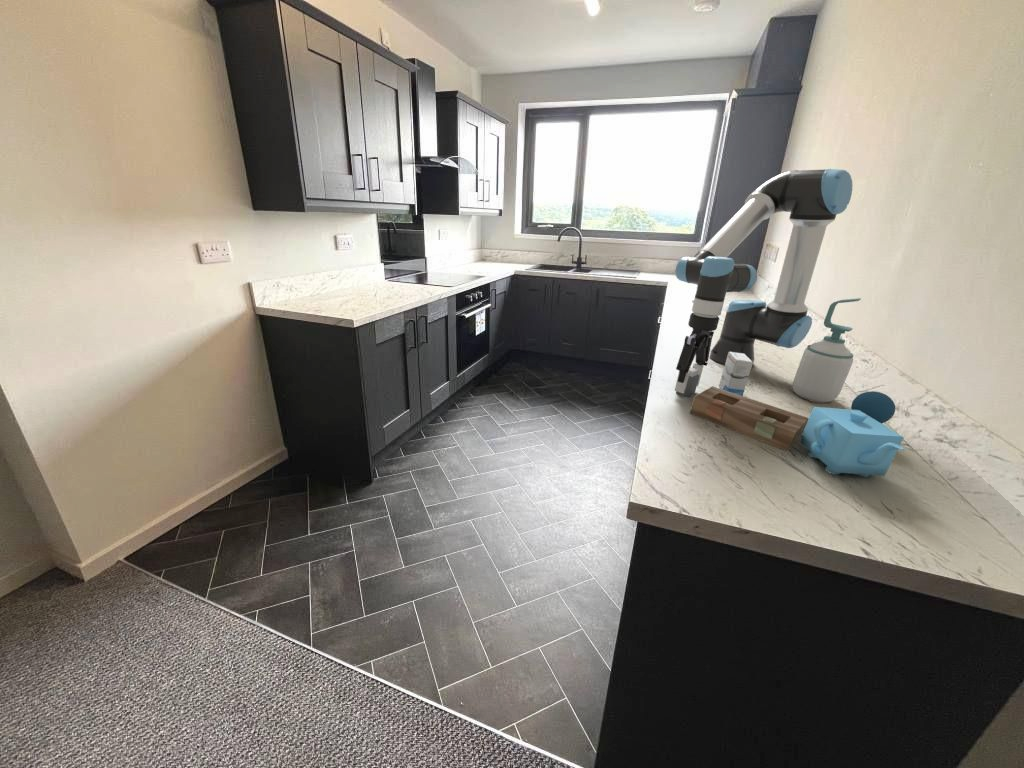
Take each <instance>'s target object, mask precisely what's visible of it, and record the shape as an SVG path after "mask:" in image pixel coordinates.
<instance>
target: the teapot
mask: <svg viewBox="0 0 1024 768" xmlns="http://www.w3.org/2000/svg"><path fill="white" fill-rule="evenodd" d="M808 418H809V419H808V422H807V424H806V427H805V429H804V432H803V434H802V436H801V437H800V439H799V444H801V445H802V446H804V447H805V449H807V450H808V452H807V456H809V457H811V458H814V459H819V460H820V461H821V462H822V463H823V464H824V465H826V467H825V468H824V469H826V470H827V471H829V472H831V473H834V474H833V475H835V474H839V475H840V474H854V475H857V476H860V477H863V476H864V477H865V478H868V477H869V476H878V477H879V476H880V477H881V476H883V477H885V476H886V474H887V471H888V469H889V468H890V466H891V464H892V462H893V460H894V458H895V455H896V454H897V453H898V450H905V448H904V447H903V446H901V444H902V442H903V440H904V436H903V435H901V434H899V433H898V432H896V431H894V430H893V429H891V428H890V427H888V426H886V425H885V423H882V424H881V423H880V422H878V421H876V420H875V419H873V418H871V417H870V416H868V415H866V414H865V413H863V412H861V411H860V410H851V408H849V409H846V408H835V407H820V406H813V408H812V409H811V412H810V415H809V417H808ZM826 470H825V471H826ZM827 471H826V472H827ZM829 472H828V473H829ZM831 473H830V474H831Z"/></svg>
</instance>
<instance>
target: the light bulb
mask: <svg viewBox="0 0 1024 768" xmlns="http://www.w3.org/2000/svg"><path fill="white" fill-rule="evenodd" d="M850 410H860V411H861V412H863V413H865V414H866V415H868V416H870V417H871V418H873V419H875V420H876V421H878V422H880V423H881V424H885V423H887V422H888V421H890V420H891V419H892V418H893V417H894V415H895V412H896V405H895V402H894V400H893V399H892V398H891V397H890V396H889V395H888V394H885V393H883V392H880V391H873V390H871V391H865V392H862V393H860V394H858V395H857V396H855V398H854V399H853V400H852V403H851V407H850Z"/></svg>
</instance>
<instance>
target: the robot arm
mask: <svg viewBox="0 0 1024 768" xmlns="http://www.w3.org/2000/svg"><path fill="white" fill-rule="evenodd" d="M852 193H853V179H852V176H851V174H850V172H848V171H847V170H845V169H836V168H833V169H832V168H828V169H808V170H807V169H804V170H803V169H802V170H801V169H800V170H796V169H795V170H789V171H784V172H782V173H779V174H778V175H775V176H773V177H771V178H769V179H768V180H767V181H765V182H764V183H762V184H761V185H760V186H758V187H756V188H755V189H754V190H753V191H752V192H751V193H750V194H749V195H748V196H747V197H746V198H745V199H744V205H742V207H741V208H740V209H739V210H738V211H736V213H735V214H734V215H733V216H732V217H731V218H730V219H729V220H727V222H726V223H725V224H724V225H723V226H722V227H721V228H720V229H719V230H718V231H717V232H716V233H715V234H714V235H713V236H712V237H711V238H710V239H709V240H708V241H707V242H706V244H705V245H703V246H702V247H701V249H699V251H697V253H696V254H694V256H684V257H682V258H681V257H680V259H679V260H678V261H677V263H676V266H675V271H674V272H675V273H674V274H675V276H676V279H677V280H678V281H681V282H684V283H686V284H687V283H688V284H692V285H697V288H696V293H695V295H694V299H692V301H691V302H692V303H693V304H692V308H691V311H692V312H691V313H690V314H689V315H690V316H689V320H688V327H690V328H692V331H691V333H690V335H689V336H688V335H686V336H685V338H684V342H683V346H682V349H681V353H680V356H679V358H678V362H677V365H676V367H675V370H676V371H678V374H677V379H676V383H675V387H674V392H676V391H677V392H680V393H685V389H686V385H687V381H688V377H689V373H690V372H688V371H689V369H690V367H691V366H692V363H693V361H694V359H695V363H693V366H692V368H694V369H697V370H698V375H700V376H699V379H698V383H697V387H698V386H699V384H700V380H701V377H702V373H703V369H704V366H705V367H707V365H708V361H709V358H710V359H711V360H712V361H714V362H717V363H719V364H722V365H725V363H726V359H727V356H728V353H729V352H736V353H743V354H745V355H746V356H747V357H748V358H749V359H750V360H751V361H752V362H753V364H752V366H753V365H754V363H755V347H754V344H755V341H756V340H757V341H760V342H763V343H768V344H771V345H774V346H775V347H780V348H785V349H793V348H795V347H797V346H798V345H800V343H802V341H804V339H805V338H806V336H807V335H808V334H809V331H810V330H811V328H812V324H813V319H812V317H811V316H809V315H807V314H808V311H809V308H808V306H806V305H807V304H805V301H806V299H807V295H808V292H809V288H810V284H811V281H812V278H813V274H814V271H815V267H816V265H817V261H818V256H819V255H820V254H819V253H820V252H821V247H822V243H823V241H824V237H825V234H826V230H827V226H828V225H830V224H831V223H832V222H835V220H836V217H837V215H840V214H842V213H843V212H845V211H846V209H847V208H848V205H849V204H850V202H851V198H852ZM780 212H781V213H782V212H786V213H787V212H788V213H790V215H789V221H790V222H791V223H792V229H791V232H790V236H789V241H788V245H787V249H786V252H785V257H784V260H783V264H782V267H781V272H780V275H779V280H778V283H777V287H776V291H775V295H774V299H773V300H772V301H770V302H769V303H767V302H766V301H763V300H754V299H753V300H752V299H751V300H750V299H737V300H736V299H735V300H732V301H730V303H728V304H729V305H728V307H727V310H726V312H725V316H724V321H723V325H722V329H721V332H720V335H719V339H717V341H716V342H715V344H714V346H713V347H712V348H711V346H712V342H713V341H712V339H713V336H714V334H715V331H716V330H717V328H718V325H719V321H720V317H719V316H721V314H722V311H723V306H724V303H725V300H726V299H725V298H726V295H727V293H734V292H735V293H740V292H744V291H748V290H750V289H751V288H753V286H754V285H755V284H756V282H757V281H758V280H757V279H758V274H757V273H758V272H757V270H756V269H755V267H753V265H750V264H747V263H739V264H738V263H735V260H734V259H733V258H731V257H729V256H730V255H731V254H732V253H733V251H735V249H737V247H739V245H741V244H742V242H743V241H745V239H746V238H747V237H748V236H749V235H750V234H751V233H752V232H753V231H754V230H755V229H756V228H757V227H758V226H759V225H760V224H761V223H762V222H763V221H764V220H768V219H769V218H771V217H772V216H773V215H774V214H776V213H780Z"/></svg>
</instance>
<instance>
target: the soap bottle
mask: <svg viewBox="0 0 1024 768" xmlns="http://www.w3.org/2000/svg"><path fill="white" fill-rule="evenodd" d="M859 301H861V298H859V297H858V298H847V299H846V298H845V299H840V300H836V301H834V302H832V303H831V304H829V307H828V310H827V312H826V315H825V319H824V321H823V325H824V327H825V328H828V329H830V332H832V333H831V335H830V336H828V335H825V336H824V337H823V339H822V340H820V341H817V342H814V343H811V344H808V345H807V347H806V348H805V349H804V351H803V354H802V356H801V359H800V362H799V364H798V367H797V370H796V372H795V376H794V378H793V382H792V389H793V391H794V393H795V394H796V395H797V396H798V397H800V398H802V399H805V400H807V401H809V402H815V403H829V402H833V401H835V400H836V399H837V398H838V397H839V396H840V394H841V392H842V389H843V388H844V385H845V383H846V380H847V378H848V375H849V373H850V371H851V369H852V366H853V363H854V354H853V353H852V352H851V350H850V349H849V348H848V347H846V345H845V342H846V340H845V339H843V338H841V335H844V334H845V333H846V332H851V331H852V330H853V328H852V327H851V326H850V327H849V326H845V325H839V324H836V323H832V321H831V320H832V316H833V314H834V312H835V309H836V306H837V305H838V304H843V303H853V302H854V303H855V302H859Z"/></svg>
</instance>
